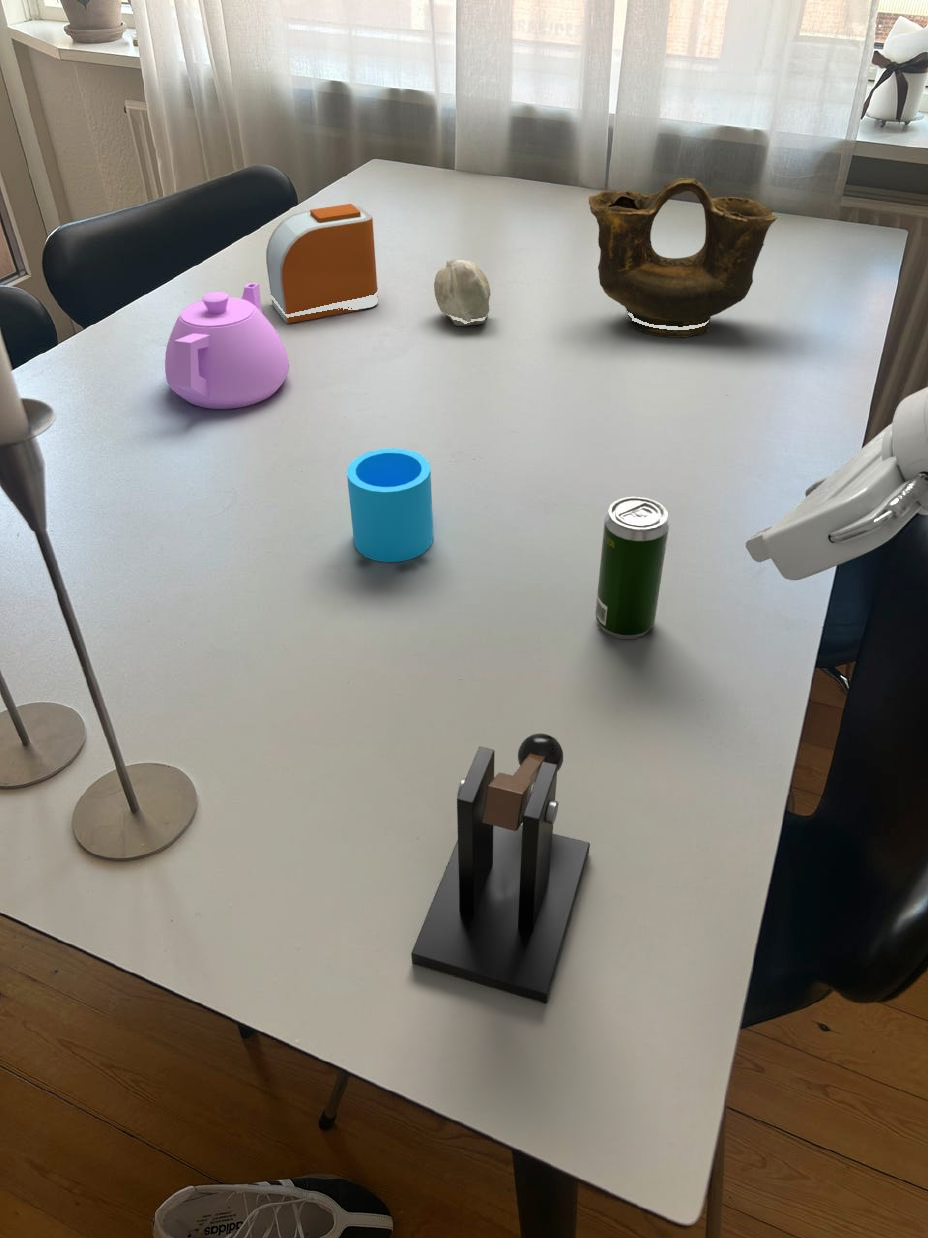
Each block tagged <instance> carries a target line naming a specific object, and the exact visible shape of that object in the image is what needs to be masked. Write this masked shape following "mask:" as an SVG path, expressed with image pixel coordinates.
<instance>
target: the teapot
mask: <svg viewBox="0 0 928 1238" xmlns="http://www.w3.org/2000/svg"><path fill="white" fill-rule="evenodd" d="M260 287H261V286H260V283H254V282H249V283H247V284H246V285H245V286H243V291H242V292H243V293H242V297H241V298H240V297H239V298H238V297H229V294H228V293H226V292H221V291H213V292H209V293H206V294H204V295H203V296H202V297H201V299H202V300H197V301H195V302H193V303H190V304H189V305H187V306H186V307H184V308H183V309H182V310H181V311H180V313H179V315H178V317H177V319H176V320H175V323H174V325H173V328H172V330H171V333H170V335H169V338H168V341H167V343H166V348H165V355H164V356H165V357H164V374H165V378H166V382H167V384H168V385H169V388H170V389H171V390H172V391H173V392H174V393H176V394H177V396H179V397H180V398H182V399H183V400H185V401H186V402H187V403H189V404H191V405H194V406H197V407H200V408H206V409H213V410H214V409H215V410H230V409H238V408H239V409H240V408H244V407H248V406H251V405H255V404H257V403H258V404H259V403H261V402H262V401H265V400H267V399H268V398H270V397H271V396H272V395H274V394H275V393H276V392H277V391H278V389H279V388H280V387H281V385H282V384H283V383H284V381H285V380H286V378H287V377H288V374H289V372H290V360H289V356H288V353H287V350H286V347H285V344H284V342H283V340H282V339H281V336H280V335H279V333H278V332H277V330H276V328H275V327H274V326H273V324H272V323H271V322H270V321H269V320H268V318H267V317H266V316H265V315H264V313H263V309H262V300H261V299H262V298H261V288H260Z"/></svg>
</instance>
